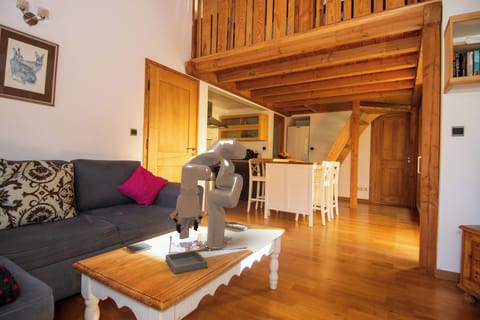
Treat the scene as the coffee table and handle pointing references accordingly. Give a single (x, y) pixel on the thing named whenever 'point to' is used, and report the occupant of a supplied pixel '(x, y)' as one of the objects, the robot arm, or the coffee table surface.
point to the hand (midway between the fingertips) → (187, 231)
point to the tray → (185, 261)
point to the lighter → (186, 230)
